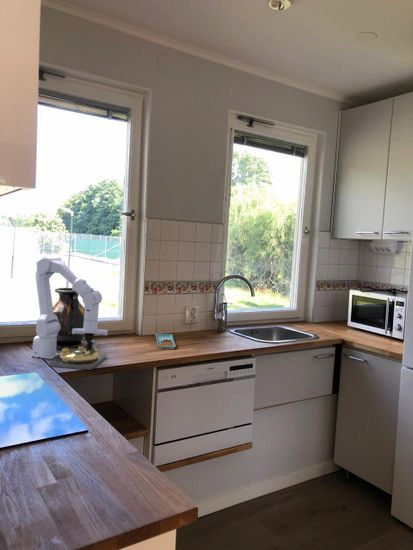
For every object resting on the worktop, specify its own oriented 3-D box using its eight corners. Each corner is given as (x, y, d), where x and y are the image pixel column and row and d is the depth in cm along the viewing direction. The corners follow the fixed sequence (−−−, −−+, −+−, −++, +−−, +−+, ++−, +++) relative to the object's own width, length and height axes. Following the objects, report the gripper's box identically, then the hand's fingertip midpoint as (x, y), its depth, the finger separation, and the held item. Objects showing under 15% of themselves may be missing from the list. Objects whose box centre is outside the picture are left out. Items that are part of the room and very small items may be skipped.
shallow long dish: (175, 350, 223) (176, 345, 223) (157, 350, 222) (157, 345, 222) (171, 338, 249) (172, 334, 249) (155, 338, 247) (155, 333, 247)
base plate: (48, 366, 183) (48, 362, 183) (68, 354, 203) (68, 350, 203) (91, 369, 181) (91, 365, 181) (106, 357, 201) (106, 353, 201)
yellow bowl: (90, 364, 183) (91, 346, 183) (53, 360, 185) (53, 343, 184) (103, 354, 199) (104, 338, 199) (68, 351, 201) (69, 335, 200)
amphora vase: (97, 349, 215) (99, 291, 213) (53, 354, 201) (55, 292, 199) (78, 339, 231) (80, 286, 229) (36, 343, 218) (38, 287, 216)
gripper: (108, 318, 195) (105, 348, 196) (73, 316, 192) (71, 347, 193) (108, 321, 188) (105, 353, 189) (72, 320, 185) (70, 352, 186)
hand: (88, 350), depth 191 cm, fingers closed, pressing on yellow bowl
